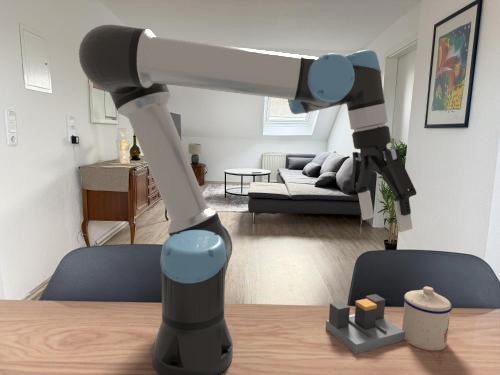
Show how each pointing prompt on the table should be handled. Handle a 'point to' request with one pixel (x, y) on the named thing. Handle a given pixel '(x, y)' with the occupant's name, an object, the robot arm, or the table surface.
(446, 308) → the teacup with lid
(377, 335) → the panel
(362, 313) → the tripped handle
